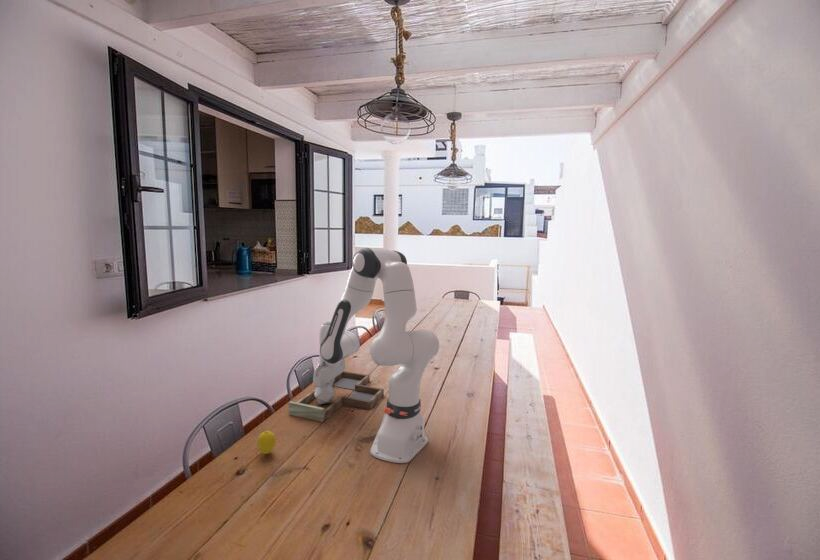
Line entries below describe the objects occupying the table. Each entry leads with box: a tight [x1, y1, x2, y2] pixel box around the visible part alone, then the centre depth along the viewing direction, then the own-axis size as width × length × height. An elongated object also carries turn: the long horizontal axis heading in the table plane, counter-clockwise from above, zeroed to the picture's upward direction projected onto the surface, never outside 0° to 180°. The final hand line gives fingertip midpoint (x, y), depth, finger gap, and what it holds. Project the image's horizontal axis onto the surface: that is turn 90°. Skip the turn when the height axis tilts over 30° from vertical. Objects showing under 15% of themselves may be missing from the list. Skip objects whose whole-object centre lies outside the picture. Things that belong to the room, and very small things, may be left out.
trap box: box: [288, 370, 385, 423], centre depth 166 cm, size 42×28×5 cm, turn 161°
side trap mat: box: [348, 390, 374, 401], centre depth 166 cm, size 11×12×1 cm
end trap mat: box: [333, 378, 360, 391], centre depth 181 cm, size 10×12×1 cm
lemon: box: [256, 430, 277, 455], centre depth 123 cm, size 6×6×8 cm
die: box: [314, 383, 336, 405], centre depth 160 cm, size 8×9×10 cm
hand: (329, 389), depth 165 cm, fingers closed
